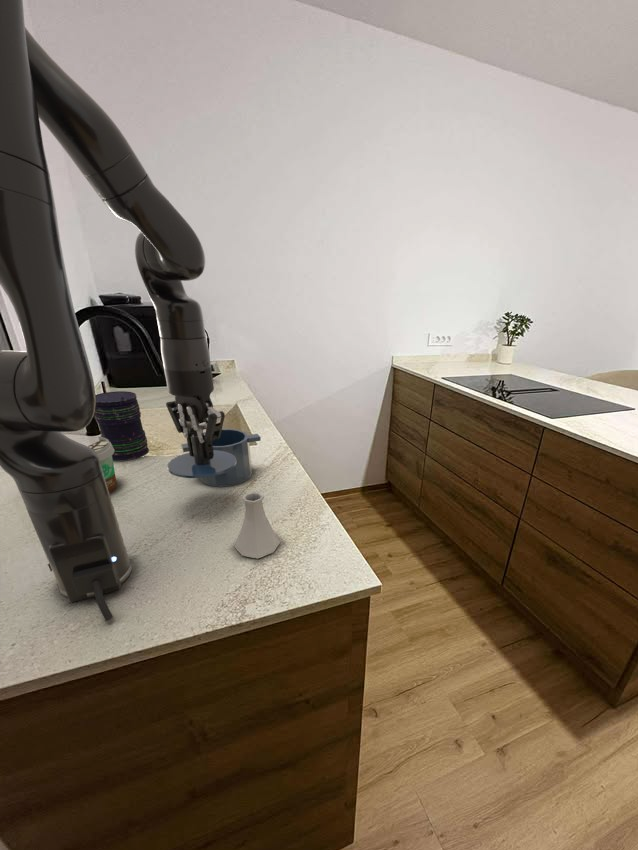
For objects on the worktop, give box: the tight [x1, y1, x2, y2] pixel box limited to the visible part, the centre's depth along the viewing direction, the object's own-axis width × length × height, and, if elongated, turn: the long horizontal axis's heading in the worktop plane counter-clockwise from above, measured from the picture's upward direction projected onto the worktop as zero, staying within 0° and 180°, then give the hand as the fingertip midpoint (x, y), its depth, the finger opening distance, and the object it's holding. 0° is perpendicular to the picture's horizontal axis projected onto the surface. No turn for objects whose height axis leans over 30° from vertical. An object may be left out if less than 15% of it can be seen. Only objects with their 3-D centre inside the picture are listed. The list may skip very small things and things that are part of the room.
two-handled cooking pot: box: [181, 428, 261, 488], centre depth 89 cm, size 11×17×10 cm
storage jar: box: [94, 390, 150, 462], centre depth 96 cm, size 10×10×15 cm
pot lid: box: [166, 432, 236, 479], centre depth 73 cm, size 12×12×7 cm
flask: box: [234, 491, 281, 560], centre depth 65 cm, size 7×7×10 cm
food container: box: [86, 436, 118, 494], centre depth 80 cm, size 12×6×10 cm, turn 168°
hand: (201, 457), depth 74 cm, fingers closed on pot lid, 3 cm apart
